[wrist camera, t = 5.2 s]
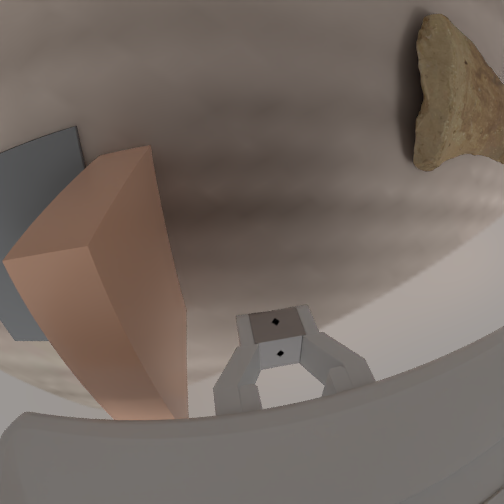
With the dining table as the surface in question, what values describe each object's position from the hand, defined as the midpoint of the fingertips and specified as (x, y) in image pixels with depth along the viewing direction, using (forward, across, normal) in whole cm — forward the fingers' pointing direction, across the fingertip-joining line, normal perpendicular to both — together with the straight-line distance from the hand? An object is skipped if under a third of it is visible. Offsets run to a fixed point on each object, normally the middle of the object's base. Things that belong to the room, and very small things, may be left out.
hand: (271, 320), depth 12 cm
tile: (+7, +6, 0) cm, 10 cm away
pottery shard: (+7, -10, -9) cm, 15 cm away
